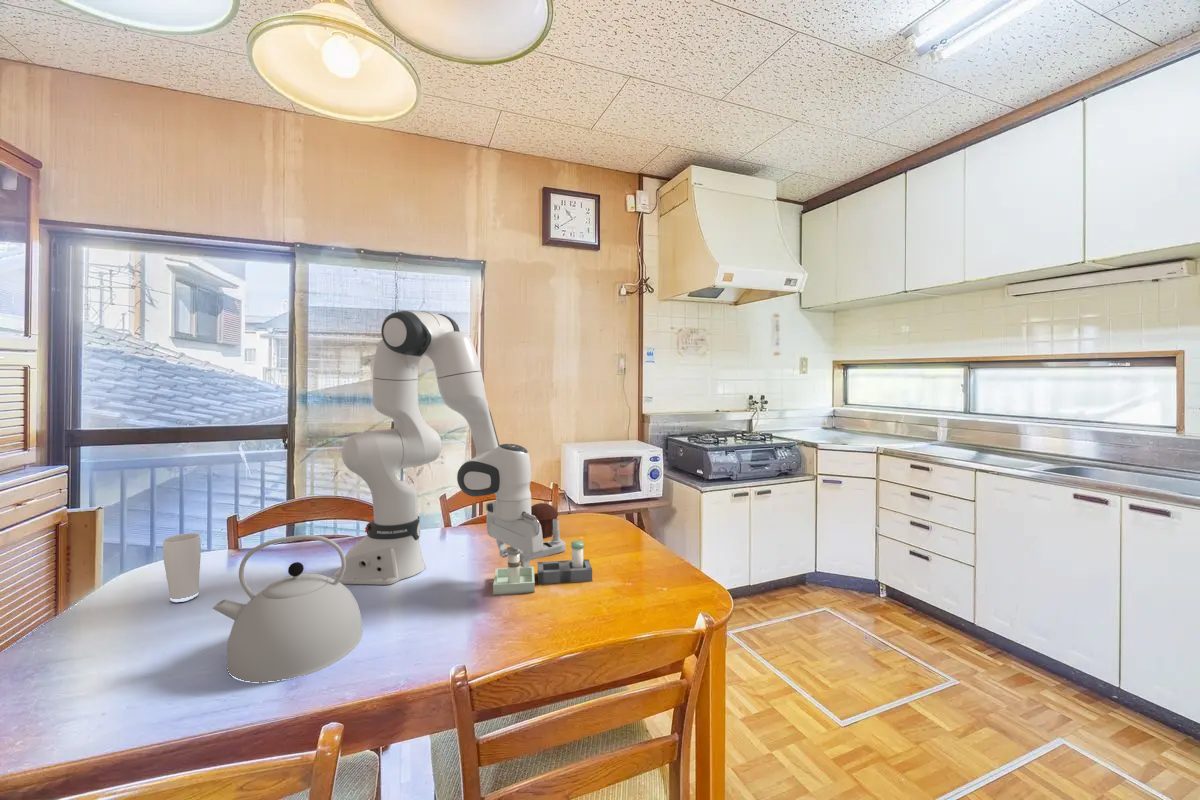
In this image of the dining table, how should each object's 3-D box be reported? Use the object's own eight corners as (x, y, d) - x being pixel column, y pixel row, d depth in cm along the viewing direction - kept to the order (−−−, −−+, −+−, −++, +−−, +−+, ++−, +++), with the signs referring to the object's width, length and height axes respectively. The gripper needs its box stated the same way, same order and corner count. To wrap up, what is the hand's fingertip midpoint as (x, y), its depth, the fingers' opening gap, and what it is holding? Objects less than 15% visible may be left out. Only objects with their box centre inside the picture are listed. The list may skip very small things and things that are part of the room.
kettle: (189, 700, 80) (182, 568, 79) (235, 631, 101) (230, 526, 100) (356, 667, 89) (353, 548, 88) (366, 610, 110) (364, 513, 109)
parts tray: (493, 595, 118) (493, 585, 118) (495, 577, 128) (495, 568, 128) (534, 592, 119) (534, 582, 119) (533, 575, 129) (533, 566, 129)
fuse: (571, 579, 127) (571, 545, 127) (570, 573, 130) (570, 541, 130) (584, 578, 128) (584, 544, 127) (583, 572, 131) (583, 540, 130)
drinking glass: (209, 595, 117) (206, 535, 116) (175, 608, 111) (171, 544, 110) (193, 590, 120) (190, 531, 119) (159, 602, 114) (156, 539, 113)
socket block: (538, 584, 124) (538, 572, 124) (537, 572, 131) (537, 562, 131) (592, 580, 126) (592, 569, 126) (588, 569, 133) (588, 559, 133)
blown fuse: (505, 585, 122) (504, 550, 122) (509, 579, 126) (509, 545, 125) (518, 586, 122) (517, 551, 121) (522, 580, 125) (522, 546, 125)
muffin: (542, 542, 154) (542, 511, 154) (516, 536, 160) (516, 506, 160) (565, 532, 164) (565, 503, 164) (540, 526, 170) (539, 498, 170)
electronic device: (514, 525, 142) (559, 515, 150) (515, 557, 143) (560, 546, 151) (521, 530, 138) (567, 520, 146) (522, 563, 139) (568, 551, 146)
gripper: (549, 514, 117) (549, 570, 118) (502, 498, 132) (502, 548, 133) (527, 520, 113) (528, 577, 114) (481, 502, 127) (482, 554, 128)
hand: (514, 561), depth 123 cm, fingers open, 8 cm apart
